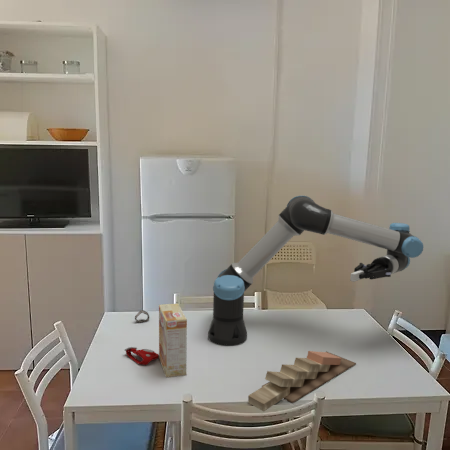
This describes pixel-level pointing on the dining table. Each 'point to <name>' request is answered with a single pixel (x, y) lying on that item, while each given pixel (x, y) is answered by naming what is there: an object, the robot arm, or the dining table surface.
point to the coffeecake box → (172, 340)
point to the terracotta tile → (324, 358)
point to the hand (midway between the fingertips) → (352, 277)
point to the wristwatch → (139, 314)
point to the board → (318, 380)
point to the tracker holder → (141, 355)
